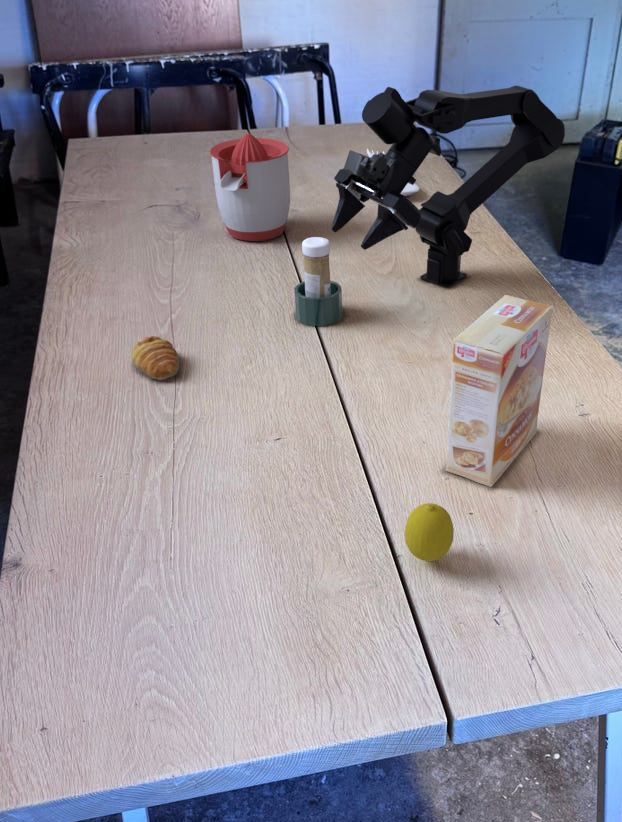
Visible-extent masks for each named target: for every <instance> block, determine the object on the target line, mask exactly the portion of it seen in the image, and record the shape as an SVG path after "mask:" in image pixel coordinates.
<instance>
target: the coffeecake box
mask: <svg viewBox="0 0 622 822" xmlns="http://www.w3.org/2000/svg"><path fill="white" fill-rule="evenodd" d="M553 309H554V307H553V306H552V305H549V304H545V303H542V302H537V301H534V300H529V299H523V298H521V297H516V296H513V295H508V294H504V295H503V296H502V297H501V298H500V299H499V300H498V301H496V302H495V303H494V304H493V305H491V306H490V307H489V308H488V309H487V310H486V311H485V312H484V313H483V314H481V315H480V316H479V317H478V318H477V319H475V320H474V322H472V323H471V324H470V325H469V326H468V327H466V328H465V329H464V330H463V331H461V333H459V335H457V336H456V337H454V339H453V340H452V343H453V346H452V347H453V349H452V364H451V381H450V399H449V415H448V429H447V430H448V431H447V449H446V463H445V465H446V466H445V471H446V472H448V473H451V474H454V475H457V476H461V477H463V478H466V479H468V480H471V481H473V482H475V483H478V484H481V485H484V486H487V487H490V488H492V487H493V486H494V485H495V484H496V482H497V481H498V480H499V479H500V478H501V476H502V475H503V474H504V473H505V471H506V470H507V469H508V468H509V467H510V466H511V464H512V463H513V462H514V461H515V459H516V458H517V457H518V456H519V454H520V453H521V452H522V451H523V449H524V448H525V447H526V446H527V444H528V443H529V442H530V441H531V440H532V438H533V437H534V436H535V435H536V433H537V428H538V427H537V426H538V419H539V410H540V404H541V403H540V402H541V396H542V387H543V380H544V372H545V366H546V359H547V350H548V344H549V336H550V328H551V321H552V320H551V319H552V313H553Z"/></svg>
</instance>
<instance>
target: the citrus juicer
mask: <svg viewBox="0 0 622 822" xmlns="http://www.w3.org/2000/svg"><path fill="white" fill-rule="evenodd" d="M289 151H290V147H289V146H288V144H286V143H285V142H283V141H282V140H281V141H280V140H278V139H272V138H266V137H265V138H262V137H255V136H254V135H253V134H251V132H247V133H245V134H244V135H243V136H242V137H241V138H237V139H231V140H226V141H222V142H220V143H217V144H215V145H213V146H212V147H211V148H210V150H209V155H210V156H211V163H212V164H211V165H212V171H213V180H214V187H215V188H214V189H215V196H216V202H217V206H218V210H219V214H220V216H221V218H222V221H223V225H224V226H225V229H226V230H227V232H228V234H229V235H230V236H231V237H232V238H234V239H237V240H241V241H248V242H249V241H250V242H251V241H252V242H257V241H259V242H266V241H268V240H271V239H274V238H276V237H279V236H280V235H282V234H283V233H284V231H285V229H286V227H287V223H288V218H289V212H290V208H291V207H290V206H291V184H290V183H291V182H290V169H289Z"/></svg>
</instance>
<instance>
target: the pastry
mask: <svg viewBox="0 0 622 822" xmlns="http://www.w3.org/2000/svg"><path fill="white" fill-rule="evenodd" d="M131 356H132V359H131V360H132V363H133V365H134V366H135V367H136V369H137V370H138V371H139V372H140V373H142V374H144V376H147V377H149V379H151V380H152V379H153V380H157V381H162V380H163V381H164V380H165V379H168V378H171V377H174V376H176V375H177V374H178V372H179V370H180V360H179V353H178V352H177V350H176V349H175V348H174V345H173V344H172V343H171V342H170V341H169V340H167V339H162V338H161V337H160V336H156V335H150V336H146V337H144V338H142V339H141V340H140V341H138V342H136V344H135V345H134V346H133V348H132V351H131Z"/></svg>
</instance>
